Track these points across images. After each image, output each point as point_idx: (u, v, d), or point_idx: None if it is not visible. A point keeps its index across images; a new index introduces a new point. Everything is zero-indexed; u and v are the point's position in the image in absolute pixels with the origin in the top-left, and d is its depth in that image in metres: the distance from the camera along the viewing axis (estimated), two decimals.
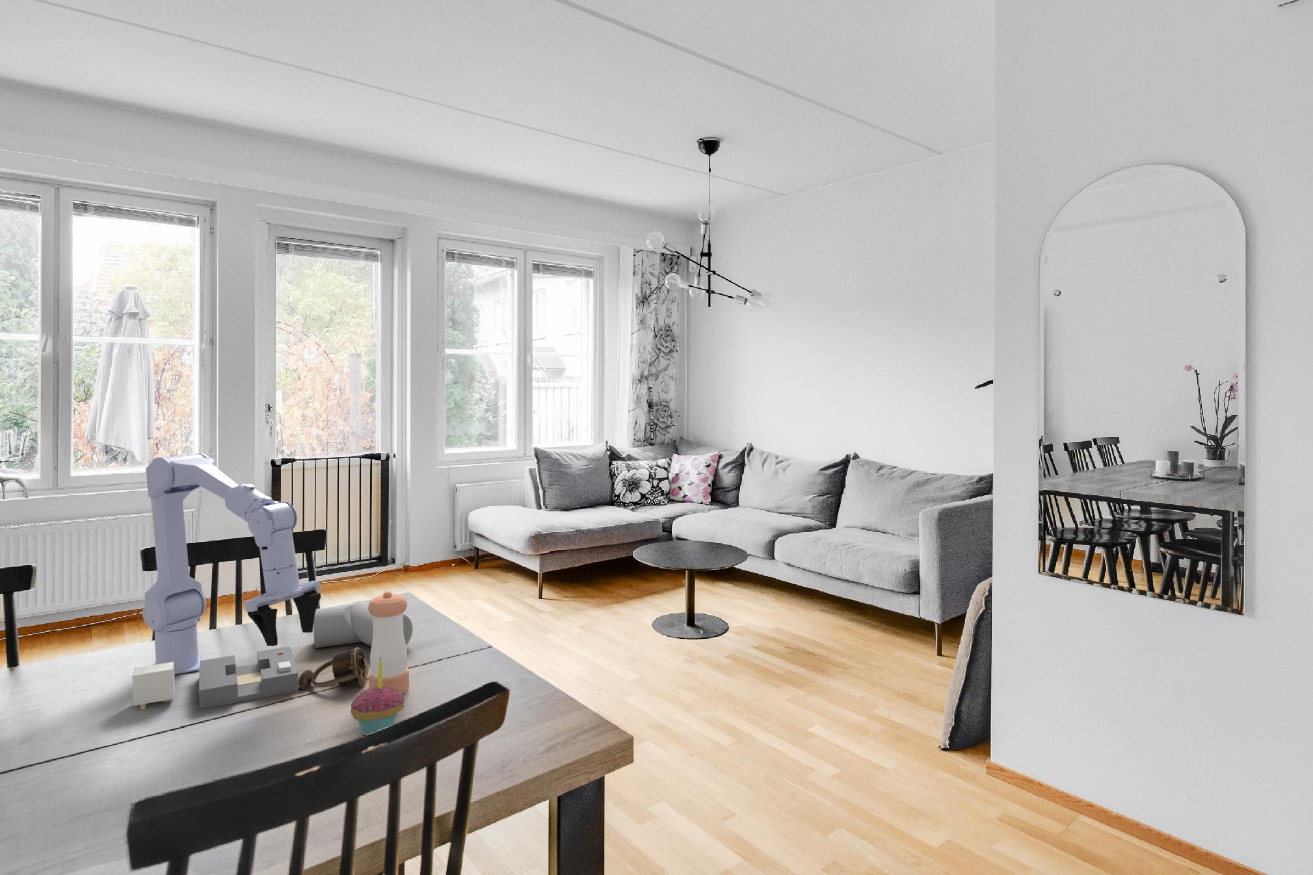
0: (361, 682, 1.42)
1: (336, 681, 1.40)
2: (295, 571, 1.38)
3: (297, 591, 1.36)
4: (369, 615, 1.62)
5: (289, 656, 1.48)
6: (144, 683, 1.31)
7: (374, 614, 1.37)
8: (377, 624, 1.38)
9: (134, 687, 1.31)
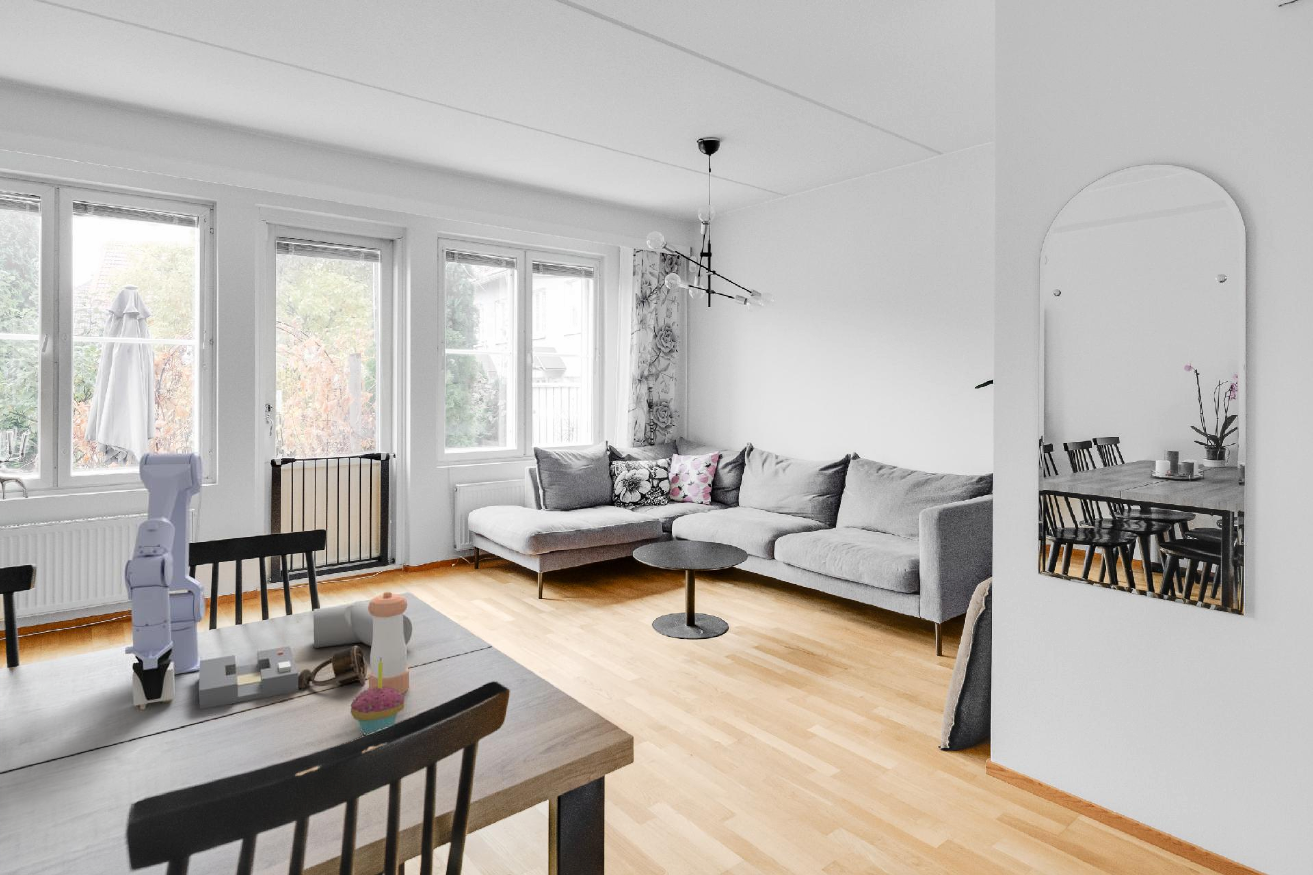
0: (362, 680, 1.43)
1: (337, 679, 1.40)
2: (133, 631, 1.31)
3: None
4: (369, 615, 1.62)
5: (289, 656, 1.48)
6: None
7: (374, 614, 1.37)
8: (377, 624, 1.38)
9: (134, 687, 1.31)
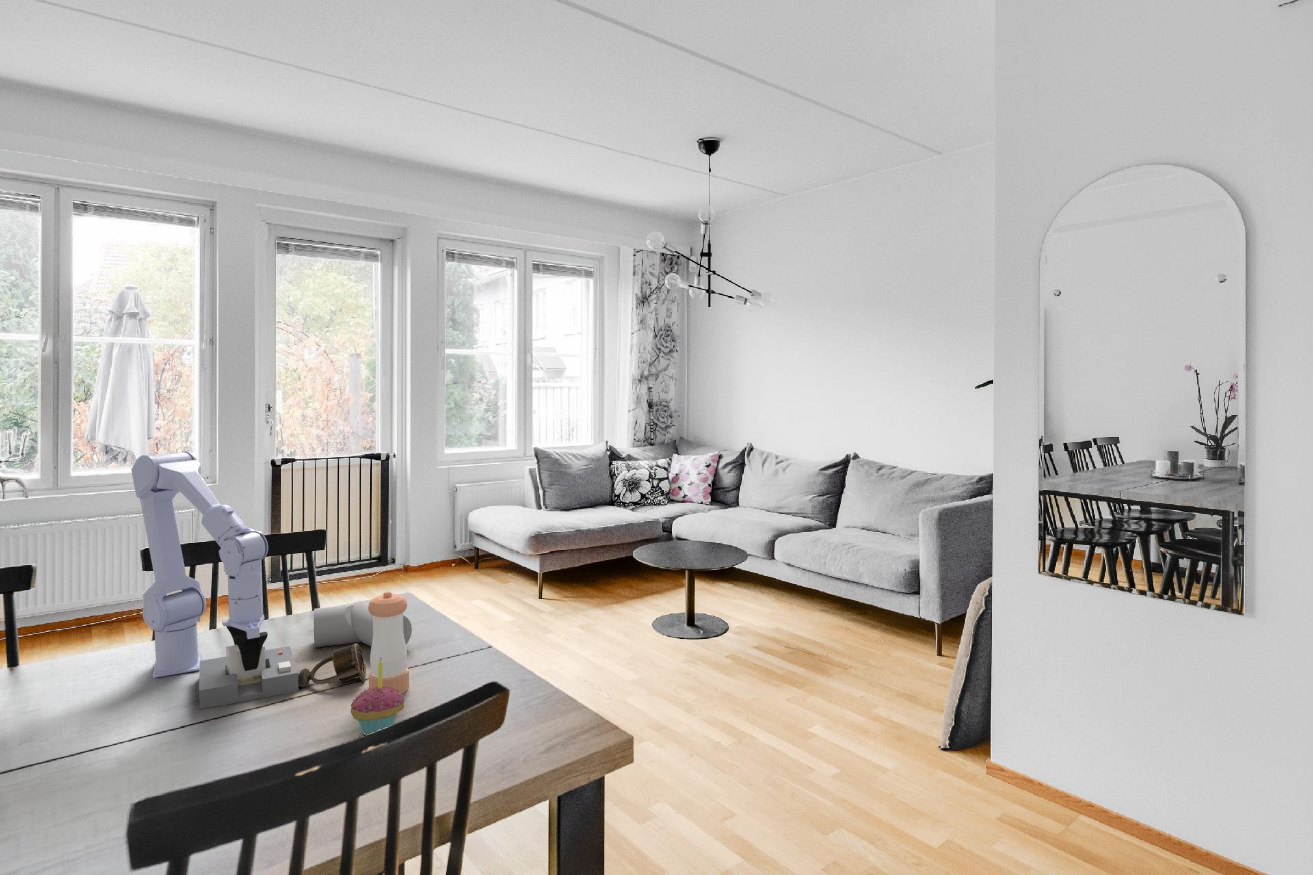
0: (363, 677, 1.44)
1: (339, 677, 1.41)
2: (231, 605, 1.39)
3: (222, 622, 1.39)
4: (368, 615, 1.62)
5: (289, 656, 1.48)
6: (240, 659, 1.40)
7: (374, 614, 1.37)
8: (377, 624, 1.38)
9: (231, 664, 1.39)
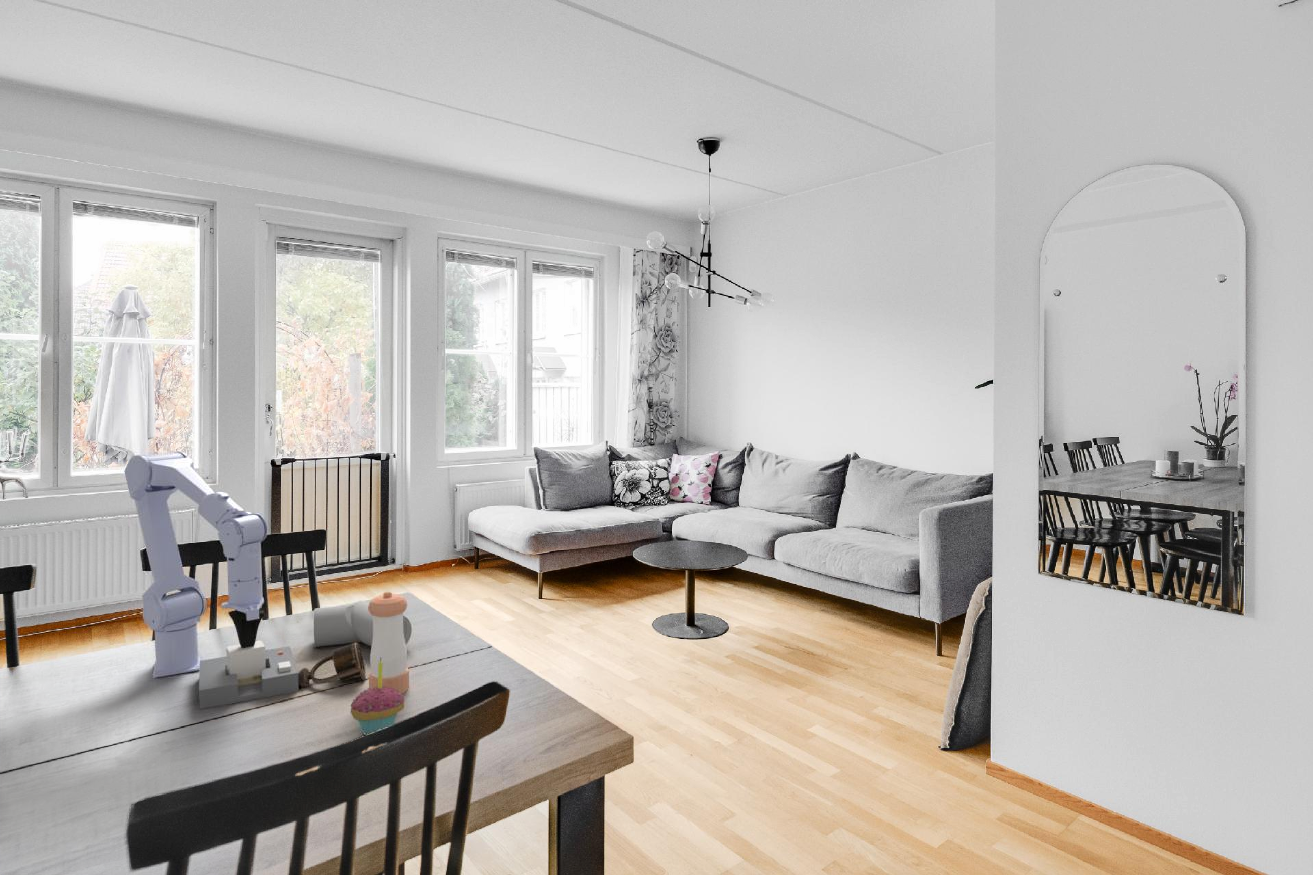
0: (363, 676, 1.45)
1: (339, 676, 1.42)
2: (230, 587, 1.39)
3: (222, 605, 1.39)
4: (368, 615, 1.62)
5: (289, 656, 1.48)
6: (240, 660, 1.40)
7: (374, 614, 1.37)
8: (377, 624, 1.38)
9: (231, 664, 1.39)
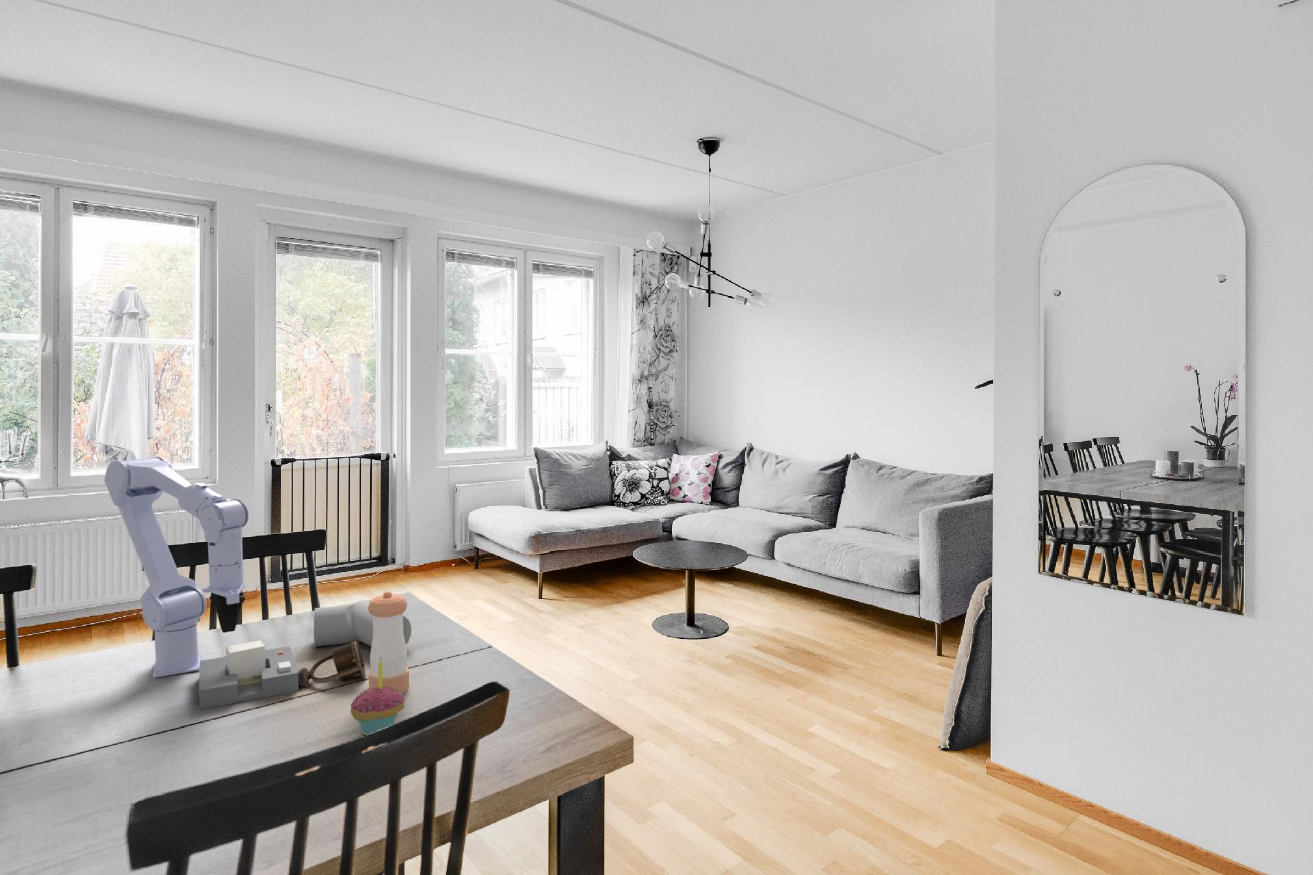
0: (364, 674, 1.45)
1: (340, 675, 1.42)
2: (211, 571, 1.40)
3: None
4: (368, 615, 1.62)
5: (289, 656, 1.48)
6: (240, 659, 1.40)
7: (374, 614, 1.37)
8: (377, 624, 1.38)
9: (231, 664, 1.39)
